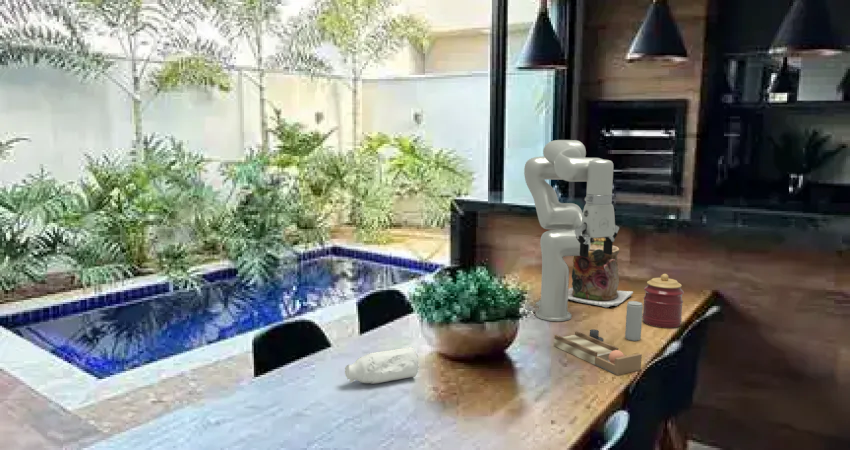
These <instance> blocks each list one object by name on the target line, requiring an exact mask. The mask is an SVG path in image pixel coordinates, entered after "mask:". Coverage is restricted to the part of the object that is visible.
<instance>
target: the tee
mask: <svg viewBox="0 0 850 450" xmlns="http://www.w3.org/2000/svg"><path fill="white" fill-rule="evenodd" d="M599 333H600V330H598V329H594V328H593V329H590V330H589V336H590V337H593V338H595V339H598V340H600V341H602V342H604V338H603V337H601V336H600V335H599Z"/></svg>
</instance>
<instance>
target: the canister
mask: <svg viewBox="0 0 850 450" xmlns="http://www.w3.org/2000/svg"><path fill="white" fill-rule="evenodd" d="M646 283H647V286H645V287H644V289H643V290H644V291H645V294H644V296H643V310H642V323H644V324H646V325H648V326H652V327H656V328H666V329H672V328H673V329H674V328H678V327H680V326H681V324H682V321H683V320H682V313H683V303H684V300H683V295H684V293H685V292H684V290H683V289H681V288H682V284H681V283H680V282H678V280H677V279H674V278H669V275H668V274H667V273H663V274H661V275H660V277H653V278H651V279H650V280H647V282H646Z"/></svg>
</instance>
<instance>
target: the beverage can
mask: <svg viewBox="0 0 850 450" xmlns="http://www.w3.org/2000/svg"><path fill="white" fill-rule="evenodd" d="M643 307H644V304H643V302H640V301H636V300H634V301H633V300H629V301H628V302H627V304H626V313H625V315H626V316H625V333H624V338H625V339H626V340H628V341H632V342H637V341H640V340H641V337H642V323H643V318H642V316H643V315H642V314H643Z"/></svg>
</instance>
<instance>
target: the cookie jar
mask: <svg viewBox="0 0 850 450" xmlns="http://www.w3.org/2000/svg"><path fill="white" fill-rule="evenodd" d="M604 241H606V240H605V238H590V250H589V252H588V257H583V256H573V259H572V262H573V264H572V265H573V266H572V267H573V268H572V271H571V279H572V282H571V287H570V288H568V300H570V301H574V302H576V303H577V302H578V303H583V304H586V305H594V306H598V307H603V308H609V307H612V306H615V307H617V306H618V305H621V304H622V303H623V302H624V301H626V300H627V299H628V298H629V297H632V294H633V293H634V291H630V290H628V291H627V290H618V288H619V283H620V281H619V279H620V276H619V264H618V255H619V253H620V248H619V247H618V246H616V245H612V254H611V255H609V254H605V253H603V247H604Z"/></svg>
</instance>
